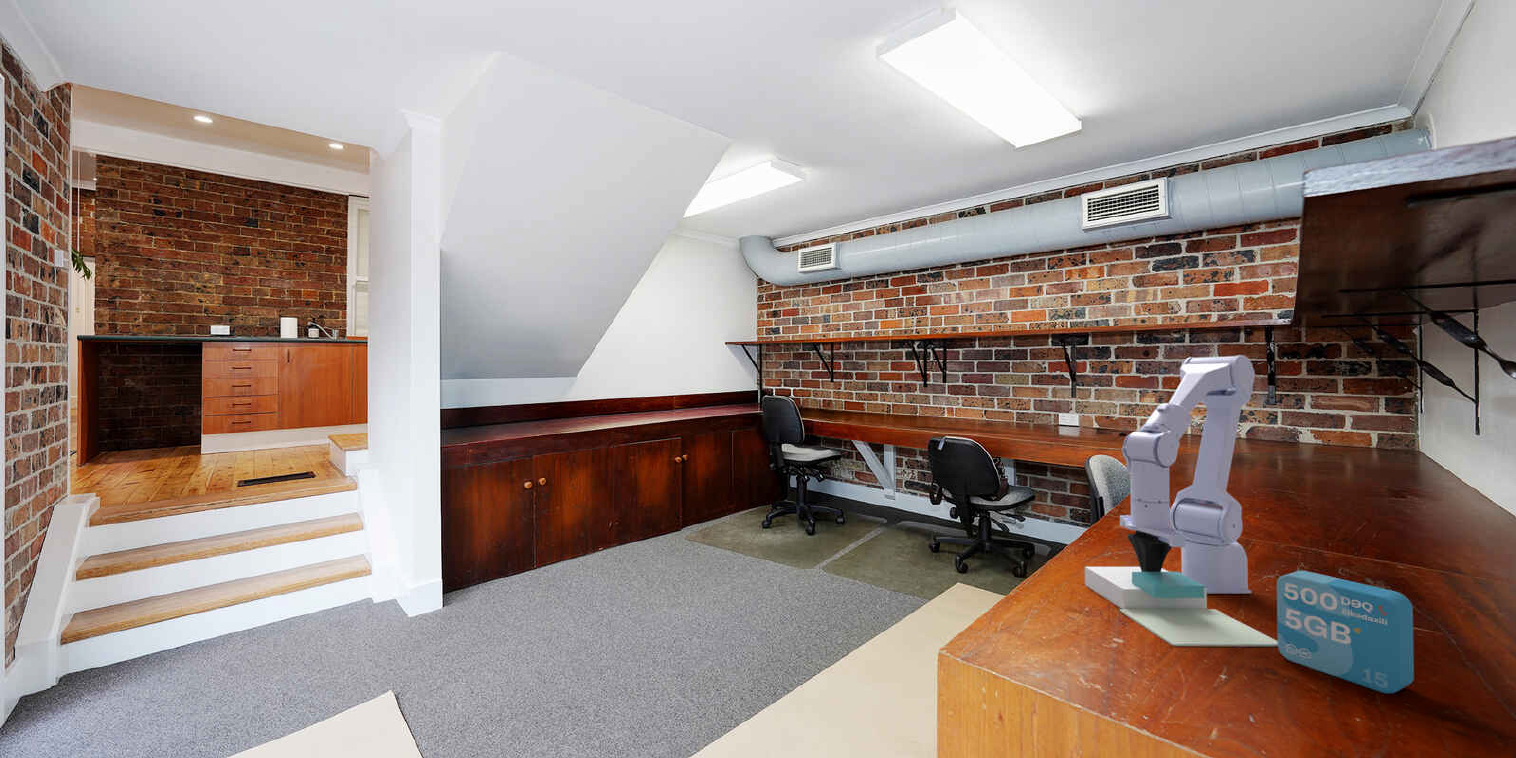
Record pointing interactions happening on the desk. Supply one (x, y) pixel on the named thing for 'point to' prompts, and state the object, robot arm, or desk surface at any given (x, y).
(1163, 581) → the tile
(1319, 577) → the data package
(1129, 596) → the white flat block
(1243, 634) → the mat
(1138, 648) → the desk surface
